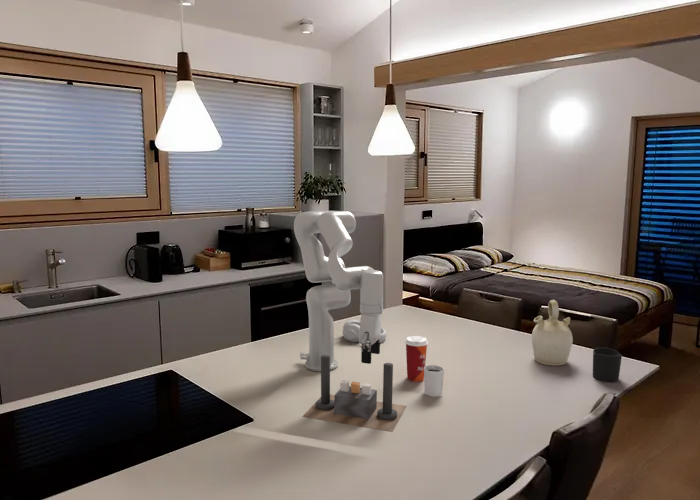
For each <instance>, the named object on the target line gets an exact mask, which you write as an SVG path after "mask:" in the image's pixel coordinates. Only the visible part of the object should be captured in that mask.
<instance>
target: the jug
mask: <svg viewBox="0 0 700 500" xmlns="http://www.w3.org/2000/svg"><path fill="white" fill-rule="evenodd" d="M547 306H548V307H547V312H548V319H545V320H544V319H543V318H544V317H543V316H542V315H538V316H536V317H534V319H533V322H534V323H535V326H534V328H533V330H532V331H531V332H532V333H531V344H532V350H533V352H532V354H533V356H534V358H533V359H534V360H535V361H536V362H537V363H539V364H542V365H546V366H555V367H556V366H557V367H558V366H564V365H566V364H567V363H568V359H569V356H570V353H571V352H572V351H571V350H572V347H573V346H572V345H573V343H574V340H573V333H572V331H571V329H570V327H568V326H569V325H570V324H571V323H570V322H571V317H569V316H568V317H566V318H563V320H562V321H560V320H559V319H558V318H559V315H560V313H559V311H560V309H559V303H558V301H557V300H555V299H551V300H549V302H548V305H547Z"/></svg>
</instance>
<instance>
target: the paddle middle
mask: <svg viewBox="0 0 700 500" xmlns="http://www.w3.org/2000/svg"><path fill="white" fill-rule="evenodd" d="M360 384H361V383H360V382H358V381H351V383H350V386H351V392H352V393H358V394H359V392H360V388H361V385H360Z"/></svg>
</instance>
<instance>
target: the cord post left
mask: <svg viewBox="0 0 700 500" xmlns="http://www.w3.org/2000/svg"><path fill="white" fill-rule="evenodd" d="M330 394H331V370H330V356H328V355H323V356H321V371H320V397H321V399H320V400H319V399H317V400H316V402H315V403H316V408H317V409H319V410H324V411H326V410H332V409H334V400H332V399H330Z"/></svg>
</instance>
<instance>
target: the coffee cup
mask: <svg viewBox="0 0 700 500" xmlns="http://www.w3.org/2000/svg"><path fill="white" fill-rule="evenodd" d="M404 343H405V351H406V352H405V354H406V355H405V357H406V375H407V380H408V381H411V382H413V383H414V382H415V383H416V382H423V381H424V367H425V366H426V361H427V360H426V359H427V349H428V344H429V341H428V339H427V338H426V337H425V336H420V335H410V336H407V338H406V340H405V341H404Z"/></svg>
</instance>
